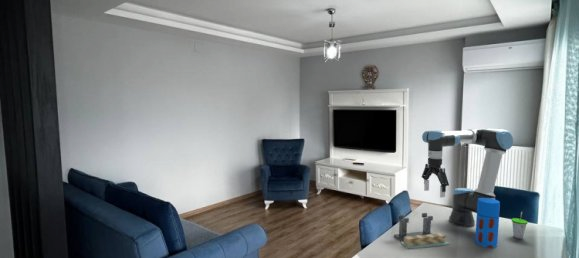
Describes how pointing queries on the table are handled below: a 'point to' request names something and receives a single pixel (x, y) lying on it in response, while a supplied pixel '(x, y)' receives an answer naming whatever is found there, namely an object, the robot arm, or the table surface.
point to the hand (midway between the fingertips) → (434, 193)
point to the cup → (519, 227)
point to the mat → (424, 245)
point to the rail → (424, 239)
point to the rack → (404, 233)
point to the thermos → (487, 222)
